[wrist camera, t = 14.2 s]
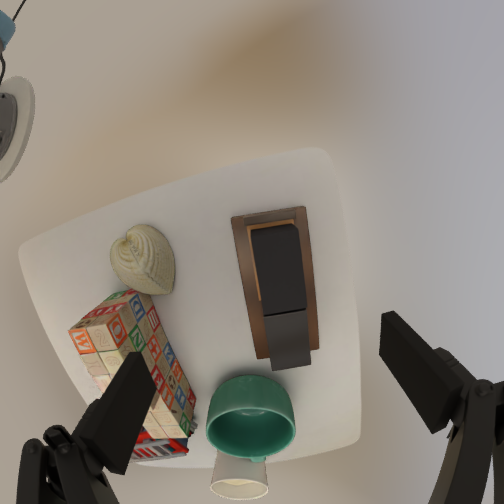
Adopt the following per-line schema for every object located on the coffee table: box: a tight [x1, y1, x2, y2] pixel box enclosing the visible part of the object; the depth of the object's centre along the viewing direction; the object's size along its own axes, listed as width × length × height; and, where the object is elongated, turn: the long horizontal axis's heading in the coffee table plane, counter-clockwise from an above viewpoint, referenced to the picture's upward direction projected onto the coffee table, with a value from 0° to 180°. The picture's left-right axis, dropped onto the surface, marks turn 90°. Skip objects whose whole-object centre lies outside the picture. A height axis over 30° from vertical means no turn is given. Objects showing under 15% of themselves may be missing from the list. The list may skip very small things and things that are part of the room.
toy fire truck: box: [129, 420, 198, 462], centre depth 37 cm, size 9×19×10 cm, turn 123°
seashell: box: [110, 225, 175, 295], centre depth 32 cm, size 8×8×8 cm
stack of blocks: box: [68, 289, 196, 439], centre depth 32 cm, size 21×6×12 cm, turn 15°
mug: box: [206, 375, 296, 463], centre depth 36 cm, size 17×12×10 cm
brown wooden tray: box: [231, 206, 319, 371], centre depth 33 cm, size 20×9×6 cm, turn 9°
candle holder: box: [210, 450, 269, 500], centre depth 38 cm, size 10×10×12 cm
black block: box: [250, 223, 308, 315], centre depth 31 cm, size 9×5×4 cm, turn 9°
